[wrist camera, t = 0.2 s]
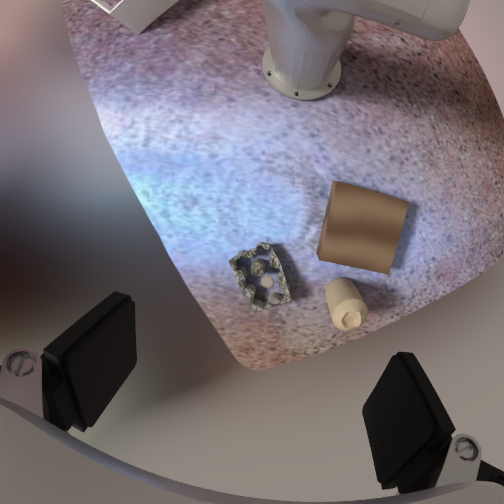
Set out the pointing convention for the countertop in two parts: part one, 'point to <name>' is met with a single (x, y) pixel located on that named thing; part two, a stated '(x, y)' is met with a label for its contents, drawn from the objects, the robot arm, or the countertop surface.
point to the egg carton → (266, 281)
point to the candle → (345, 304)
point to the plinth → (361, 228)
